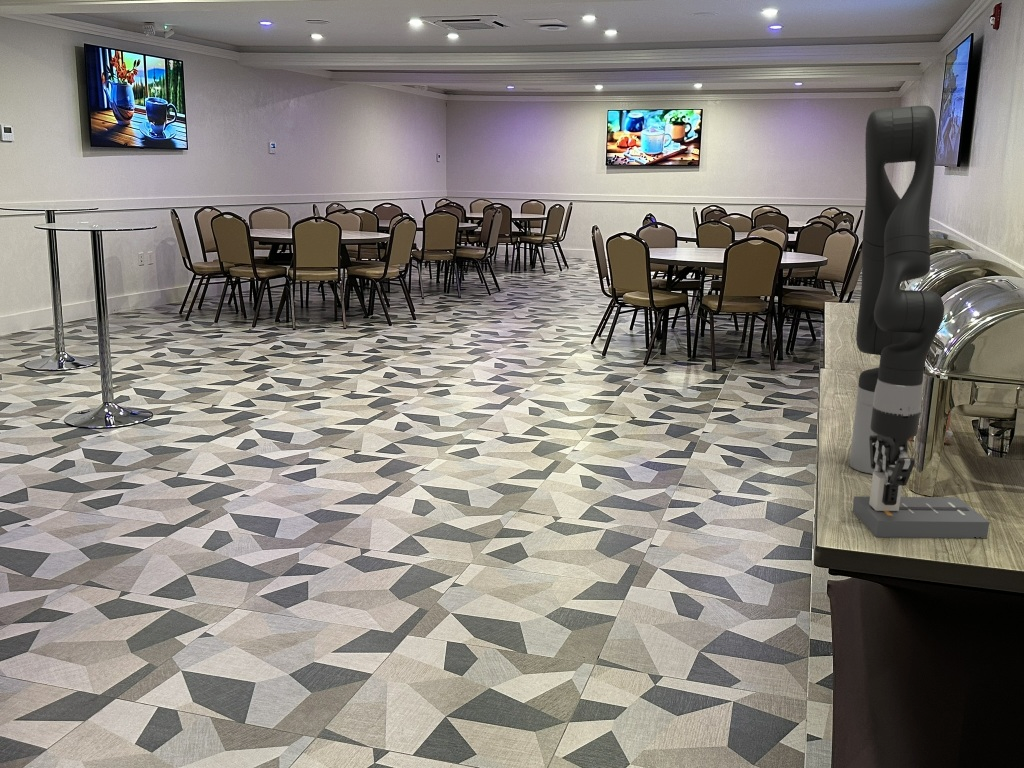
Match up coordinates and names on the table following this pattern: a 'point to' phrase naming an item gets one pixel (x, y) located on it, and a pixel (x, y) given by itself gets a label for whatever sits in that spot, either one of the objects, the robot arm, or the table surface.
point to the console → (923, 518)
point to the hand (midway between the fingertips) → (884, 499)
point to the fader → (881, 493)
